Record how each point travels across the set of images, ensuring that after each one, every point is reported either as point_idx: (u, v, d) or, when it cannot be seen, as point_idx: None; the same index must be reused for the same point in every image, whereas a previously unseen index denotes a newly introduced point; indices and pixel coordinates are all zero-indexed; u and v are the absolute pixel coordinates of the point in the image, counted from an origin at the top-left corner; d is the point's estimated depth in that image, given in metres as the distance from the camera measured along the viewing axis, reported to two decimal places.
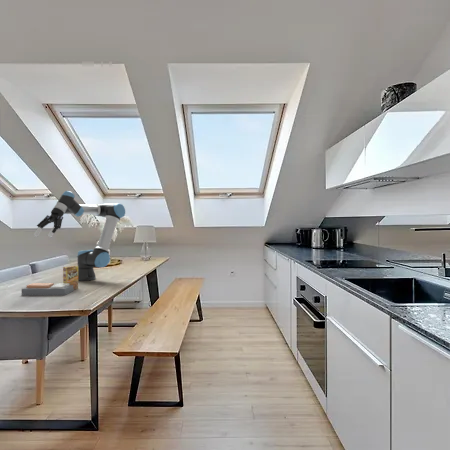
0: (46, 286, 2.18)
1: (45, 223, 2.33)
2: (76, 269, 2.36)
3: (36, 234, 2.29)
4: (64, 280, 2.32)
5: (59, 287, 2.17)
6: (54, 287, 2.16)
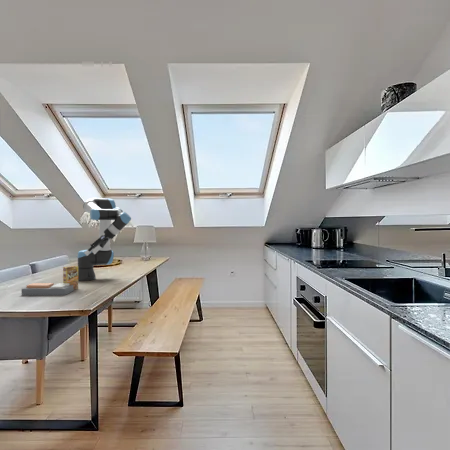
0: (46, 286, 2.18)
1: None
2: (76, 269, 2.36)
3: None
4: (64, 280, 2.32)
5: (59, 287, 2.17)
6: (54, 287, 2.16)
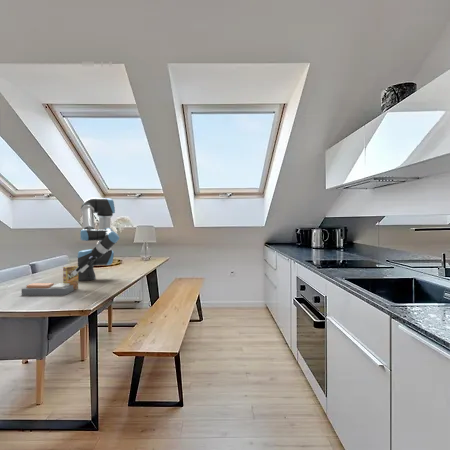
0: (46, 286, 2.18)
1: None
2: None
3: None
4: (64, 280, 2.32)
5: (59, 287, 2.17)
6: (54, 287, 2.16)
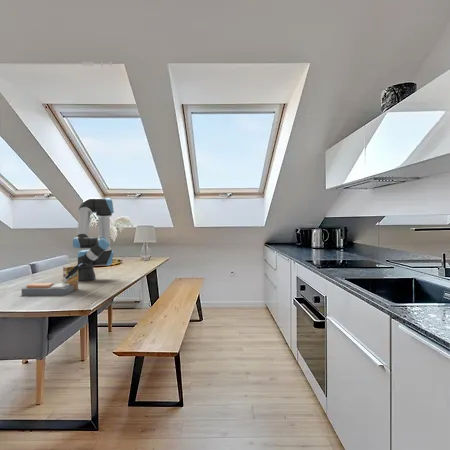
0: (46, 286, 2.18)
1: None
2: None
3: None
4: None
5: (59, 287, 2.17)
6: (54, 287, 2.16)
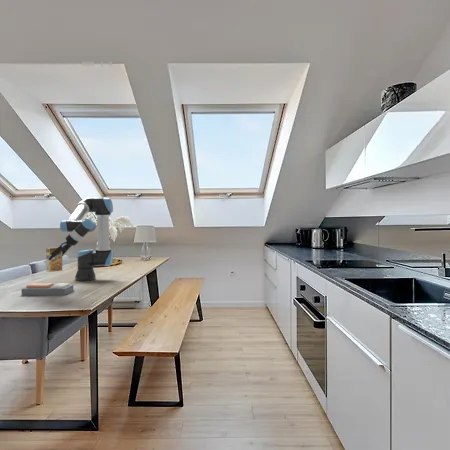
0: (46, 286, 2.18)
1: None
2: None
3: None
4: None
5: (59, 287, 2.17)
6: (54, 287, 2.16)
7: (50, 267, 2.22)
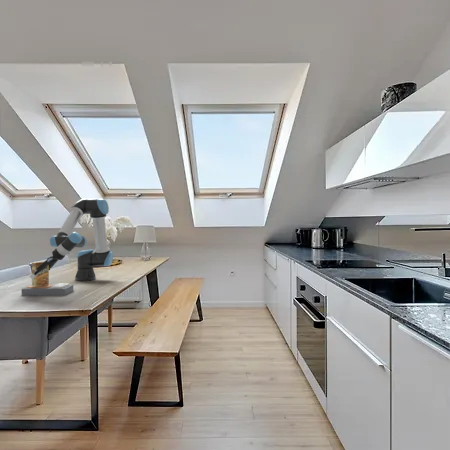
0: None
1: None
2: None
3: None
4: None
5: (59, 287, 2.17)
6: (54, 287, 2.16)
7: (36, 282, 2.17)
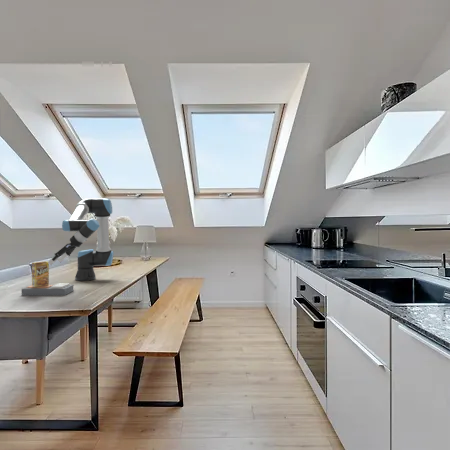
0: None
1: None
2: (46, 265, 2.23)
3: None
4: (33, 276, 2.18)
5: (59, 287, 2.17)
6: (54, 287, 2.16)
7: (36, 282, 2.17)
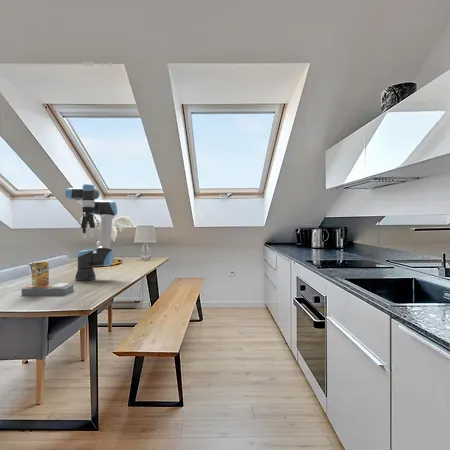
0: None
1: None
2: (46, 265, 2.23)
3: None
4: (33, 276, 2.18)
5: (59, 287, 2.17)
6: (54, 287, 2.16)
7: (36, 282, 2.17)
